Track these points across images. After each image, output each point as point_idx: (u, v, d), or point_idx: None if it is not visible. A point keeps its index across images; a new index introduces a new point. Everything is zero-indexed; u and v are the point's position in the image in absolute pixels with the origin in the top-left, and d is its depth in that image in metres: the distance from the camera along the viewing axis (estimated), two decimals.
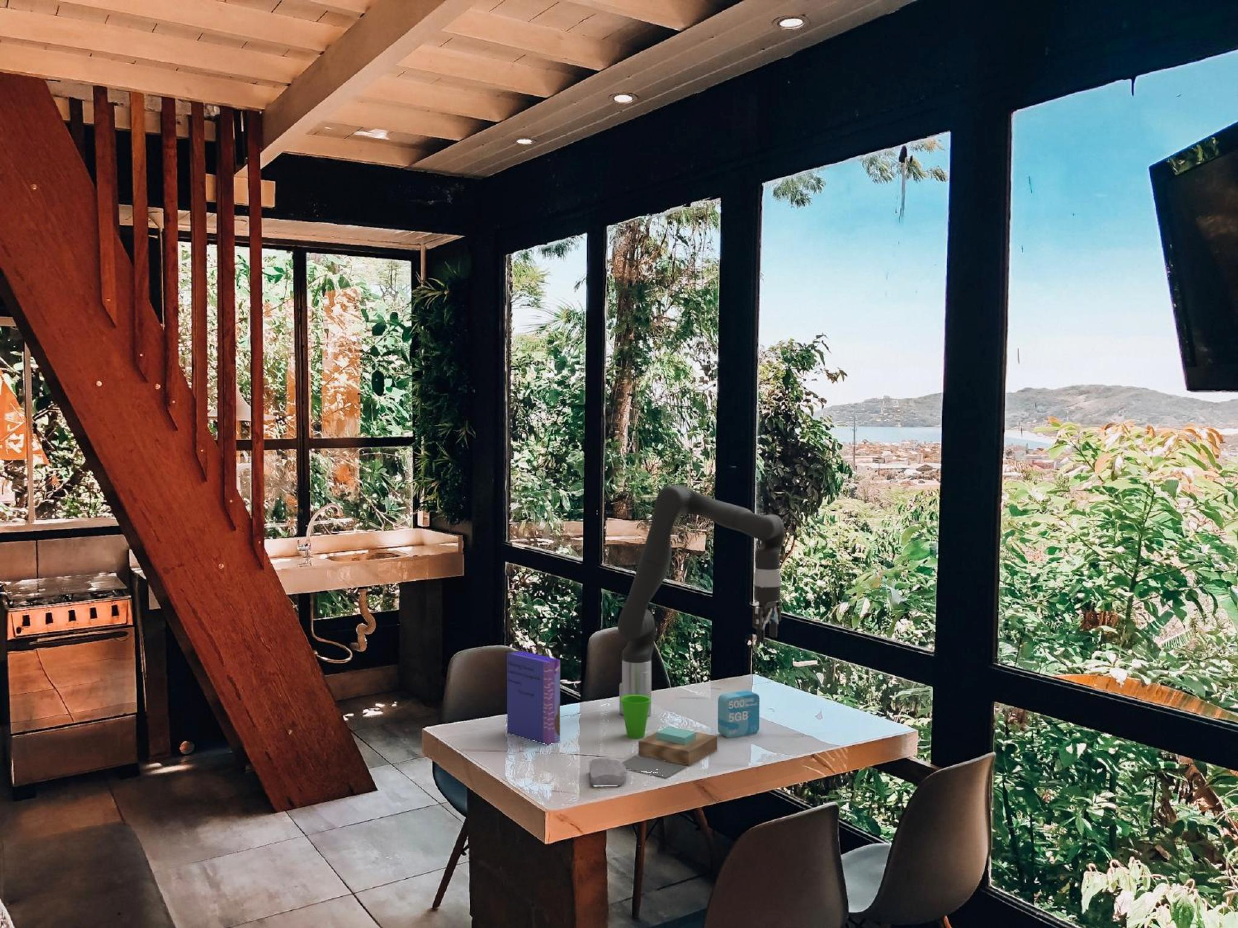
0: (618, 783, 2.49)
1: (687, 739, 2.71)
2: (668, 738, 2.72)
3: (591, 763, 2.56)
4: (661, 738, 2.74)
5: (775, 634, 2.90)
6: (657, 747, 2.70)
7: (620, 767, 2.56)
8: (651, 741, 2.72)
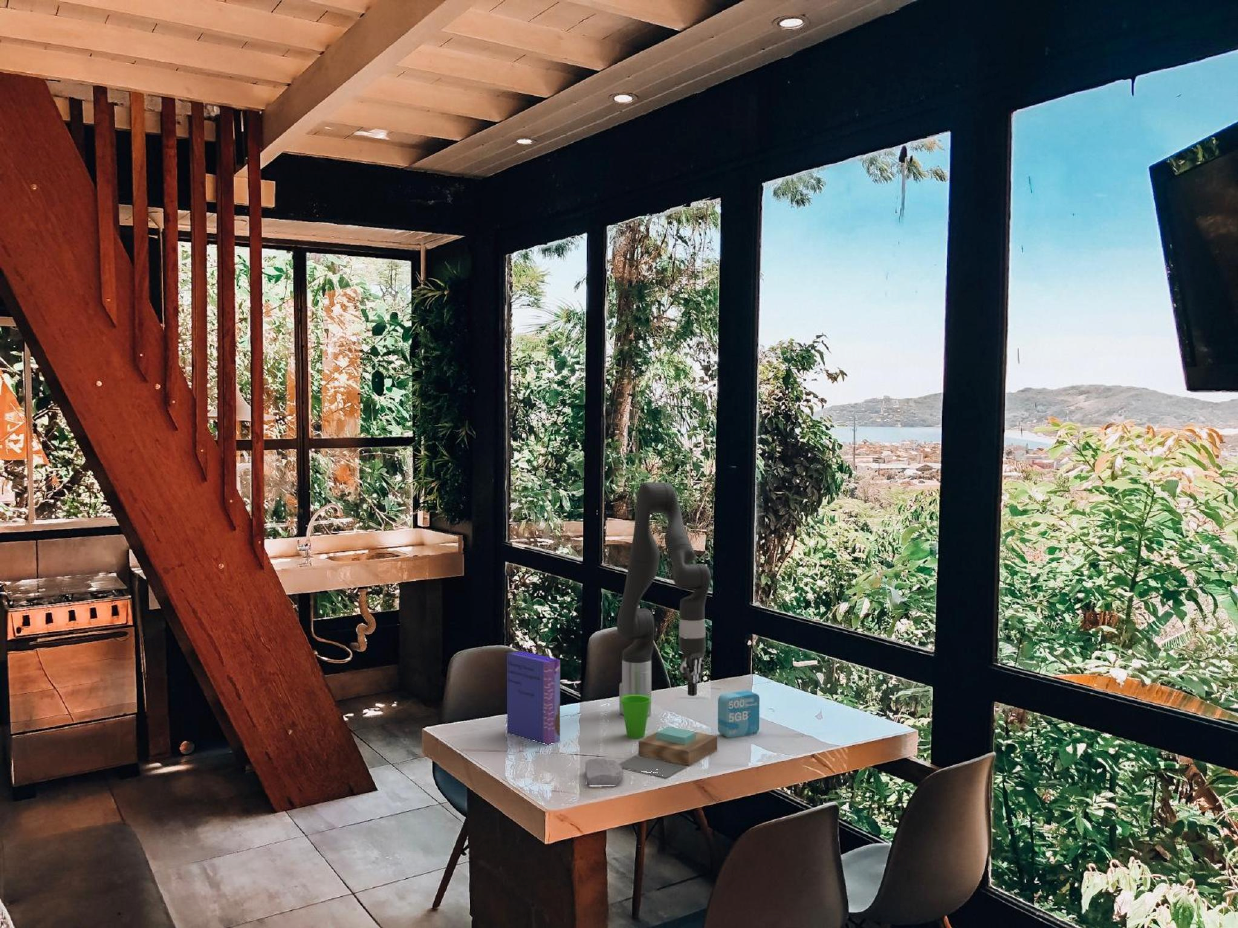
0: (614, 783, 2.49)
1: (687, 739, 2.71)
2: (668, 738, 2.72)
3: (587, 763, 2.56)
4: (661, 738, 2.74)
5: None
6: (657, 747, 2.70)
7: (616, 767, 2.56)
8: (651, 741, 2.72)
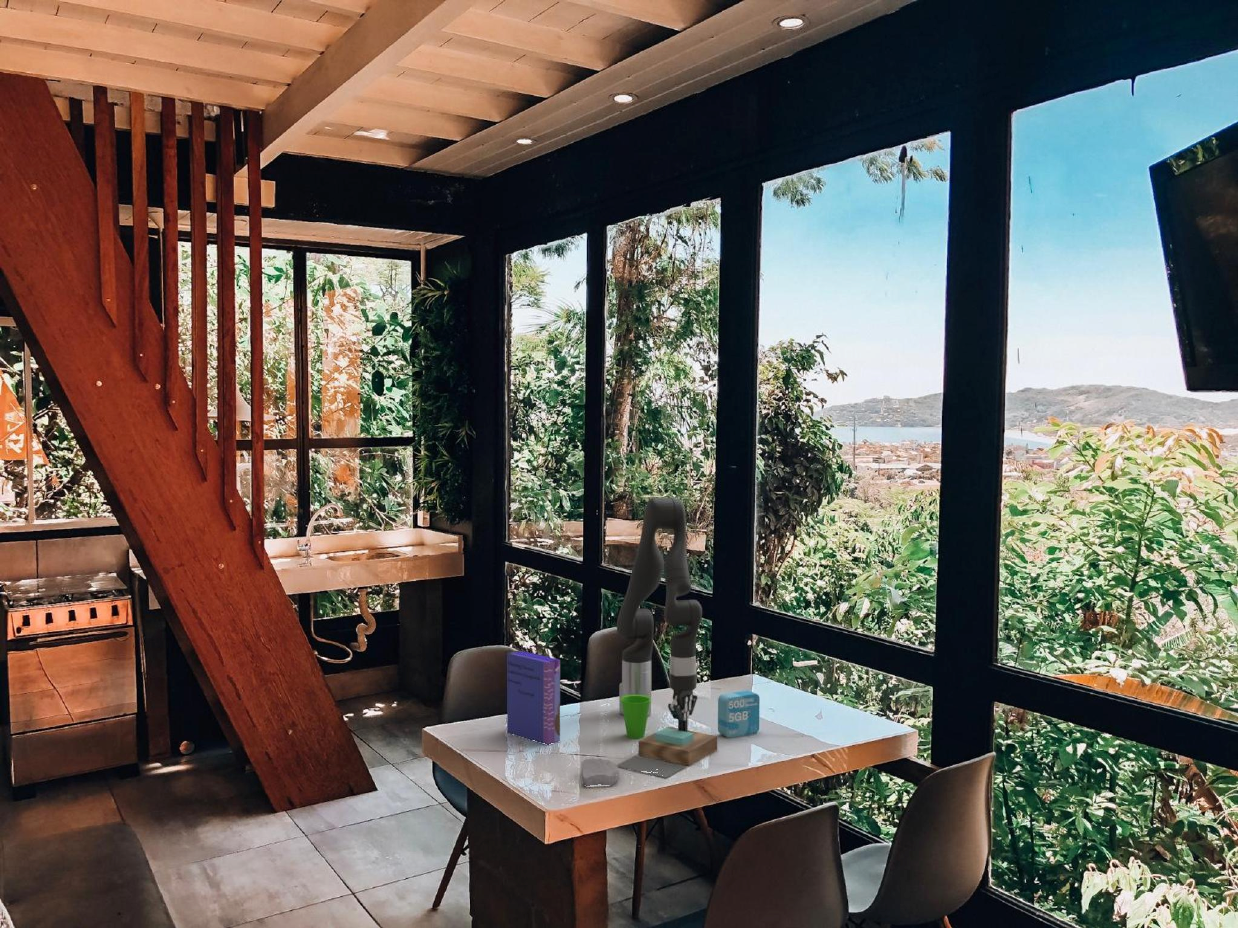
0: (610, 783, 2.49)
1: (685, 740, 2.70)
2: (665, 738, 2.71)
3: (583, 763, 2.56)
4: (659, 739, 2.73)
5: None
6: (657, 747, 2.70)
7: (612, 767, 2.56)
8: (651, 741, 2.72)
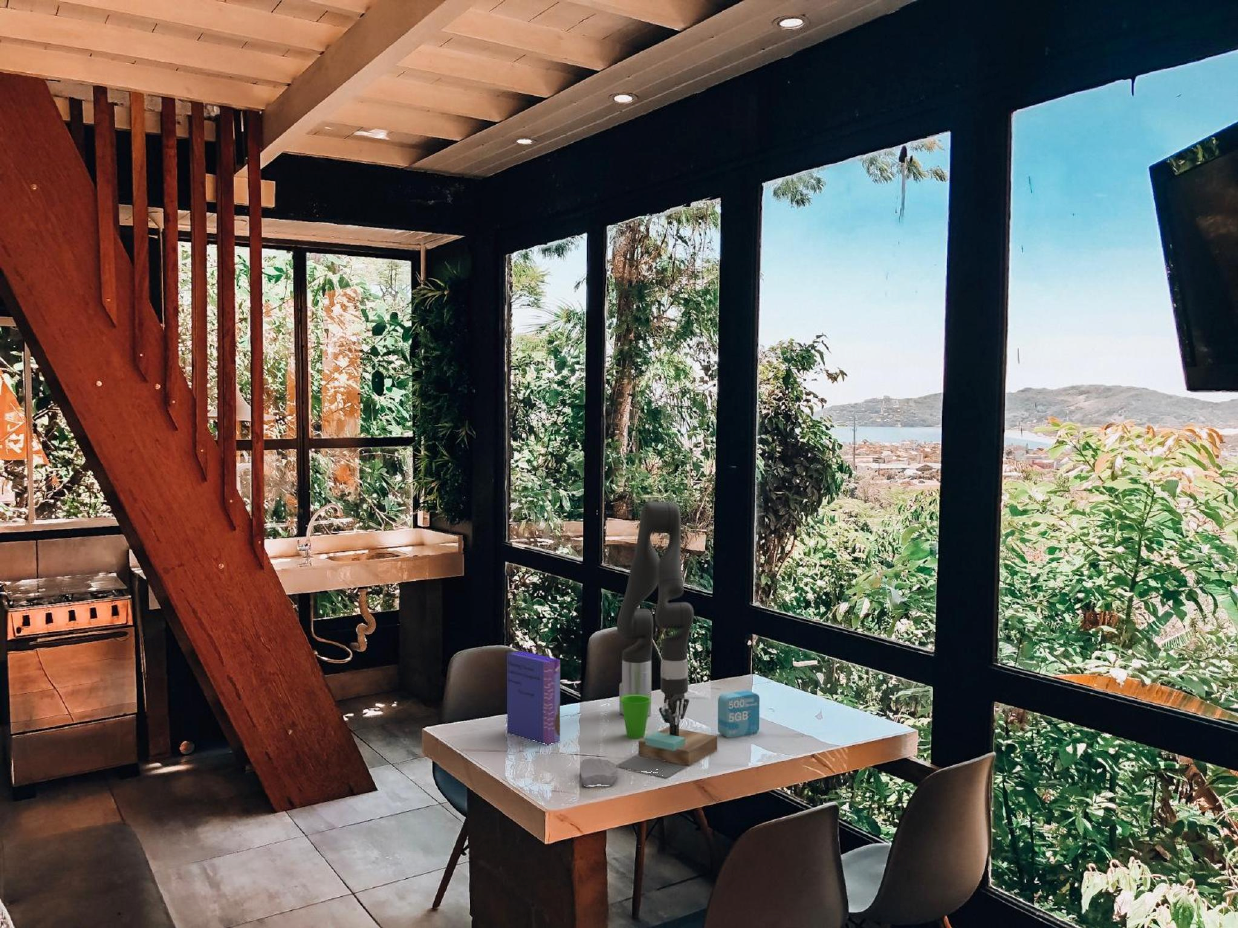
0: (609, 783, 2.49)
1: (676, 745, 2.66)
2: (656, 743, 2.67)
3: (582, 763, 2.56)
4: (650, 744, 2.69)
5: None
6: (657, 747, 2.70)
7: (611, 767, 2.56)
8: None
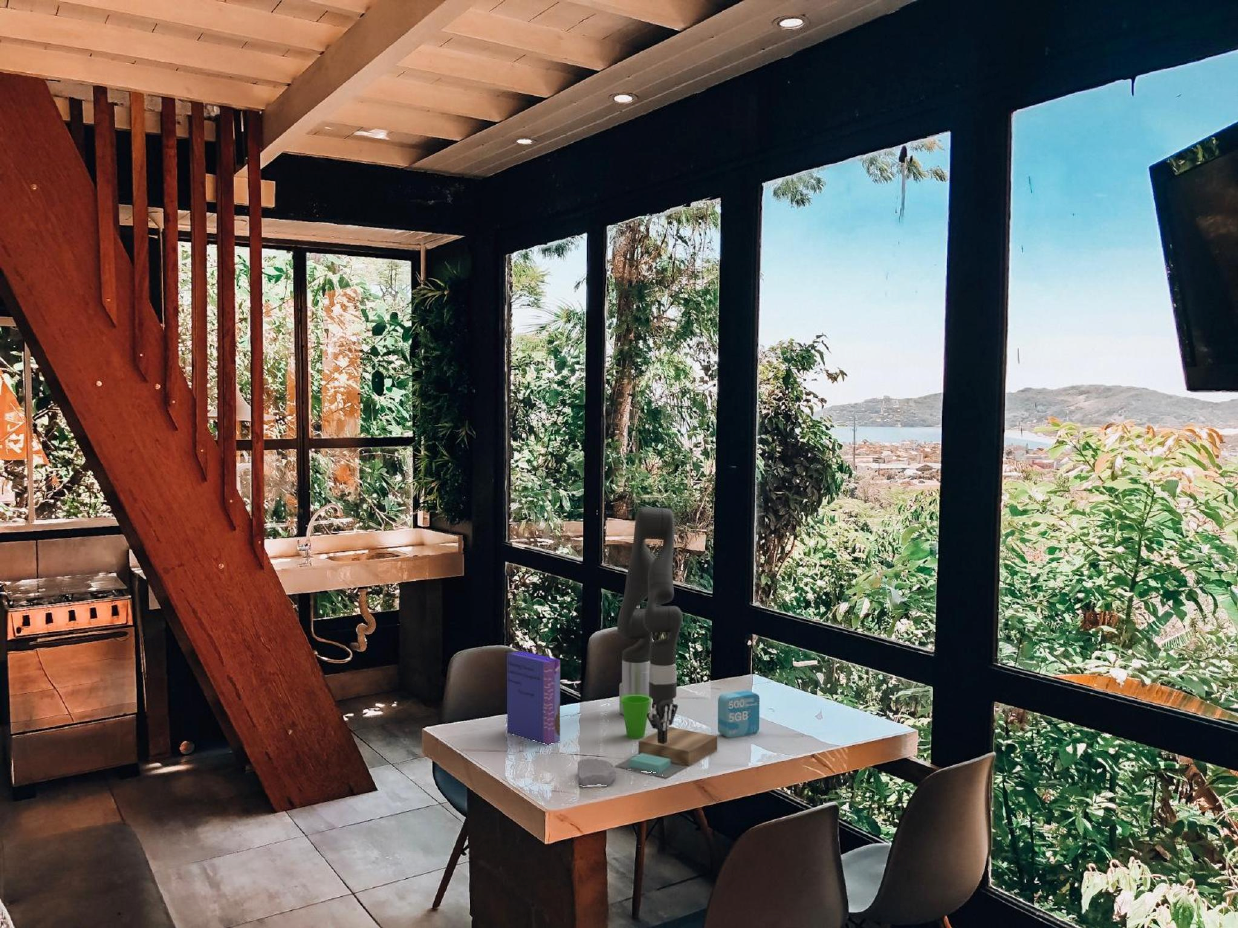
0: (606, 783, 2.49)
1: (667, 764, 2.62)
2: None
3: (579, 763, 2.56)
4: None
5: None
6: (657, 747, 2.70)
7: (608, 767, 2.56)
8: (651, 741, 2.72)
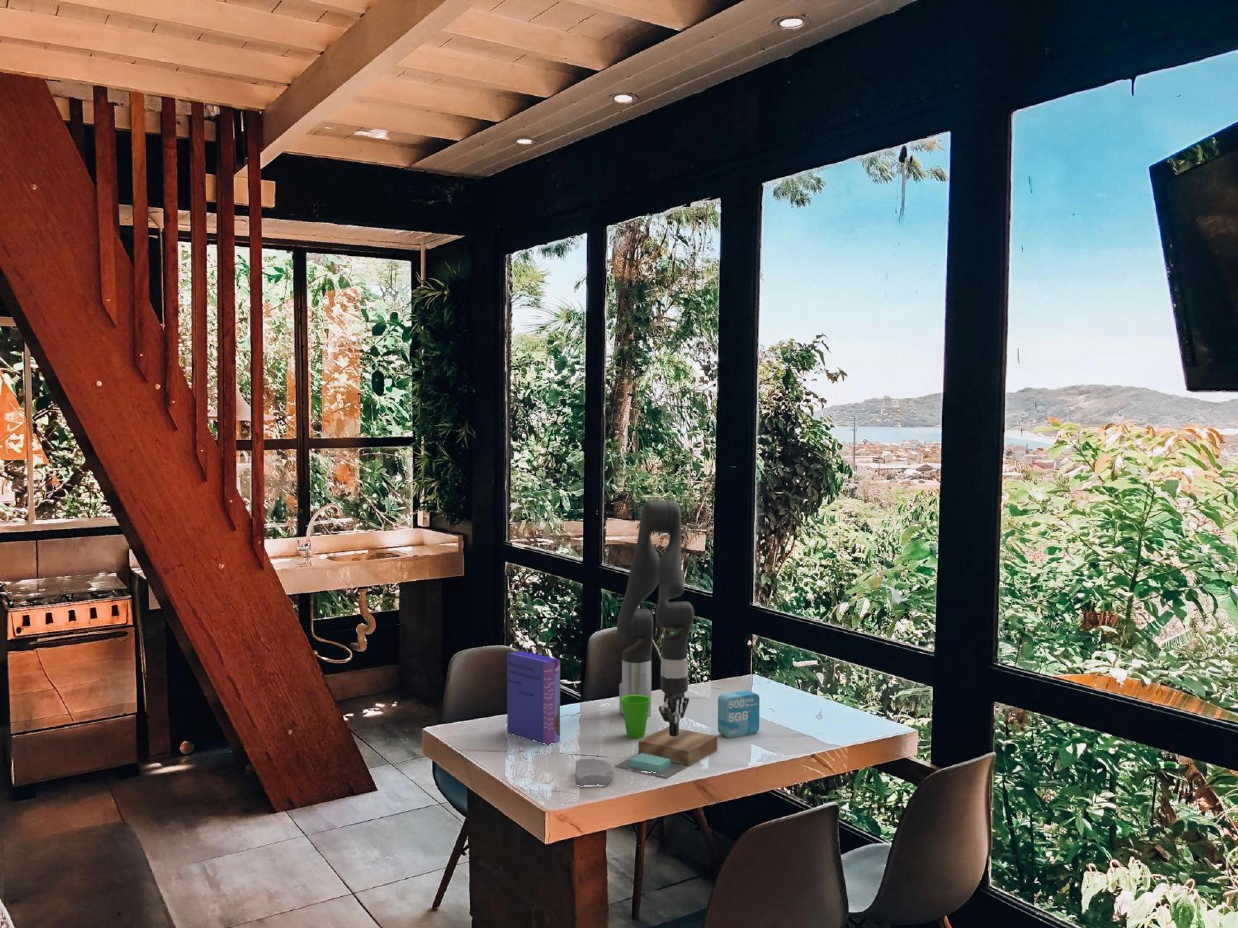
0: (604, 783, 2.49)
1: (667, 764, 2.62)
2: None
3: (577, 763, 2.56)
4: None
5: None
6: (657, 747, 2.70)
7: (606, 767, 2.56)
8: (651, 741, 2.72)
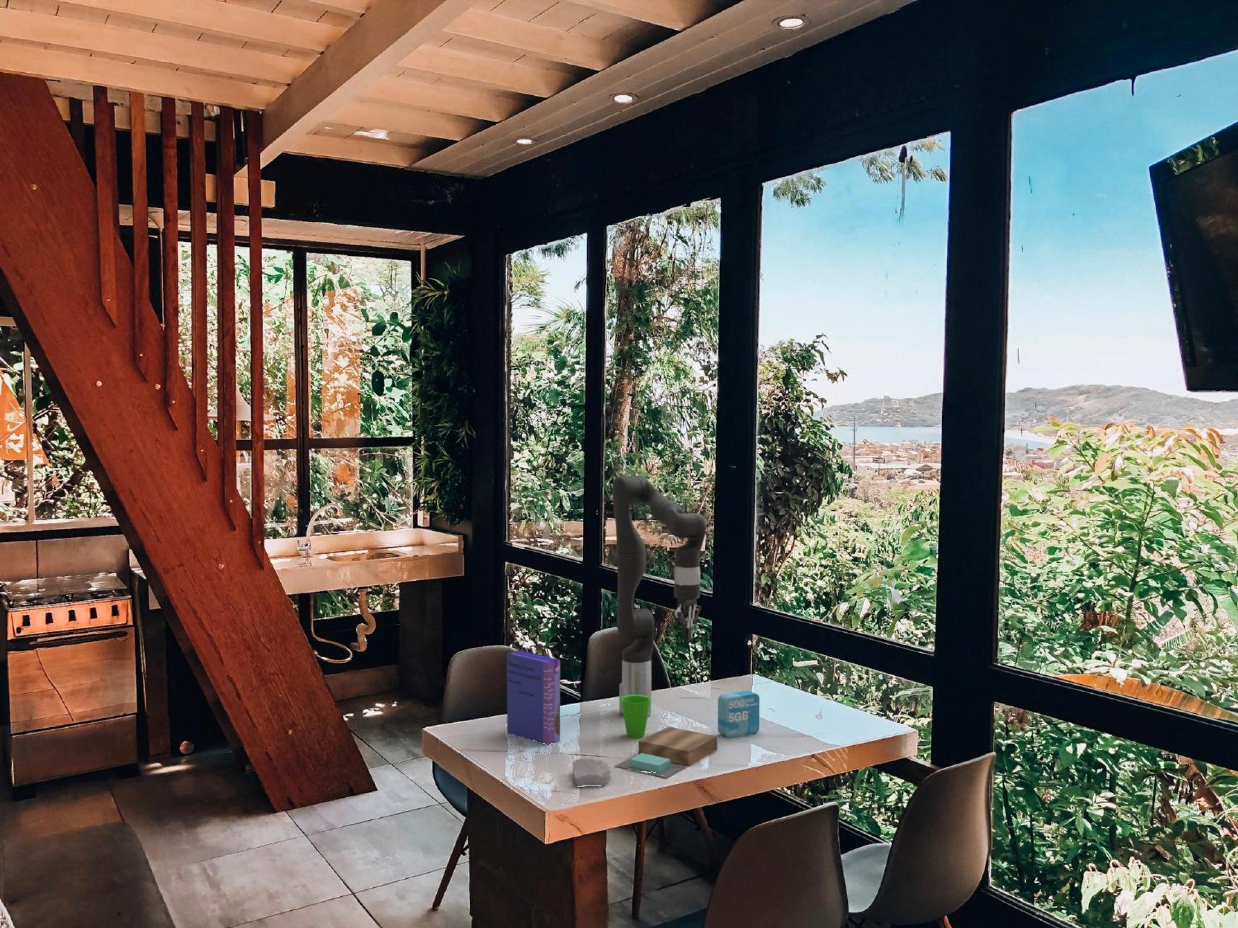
0: (601, 783, 2.49)
1: (667, 764, 2.62)
2: None
3: (575, 763, 2.56)
4: None
5: None
6: (657, 747, 2.70)
7: (604, 767, 2.56)
8: (651, 741, 2.72)
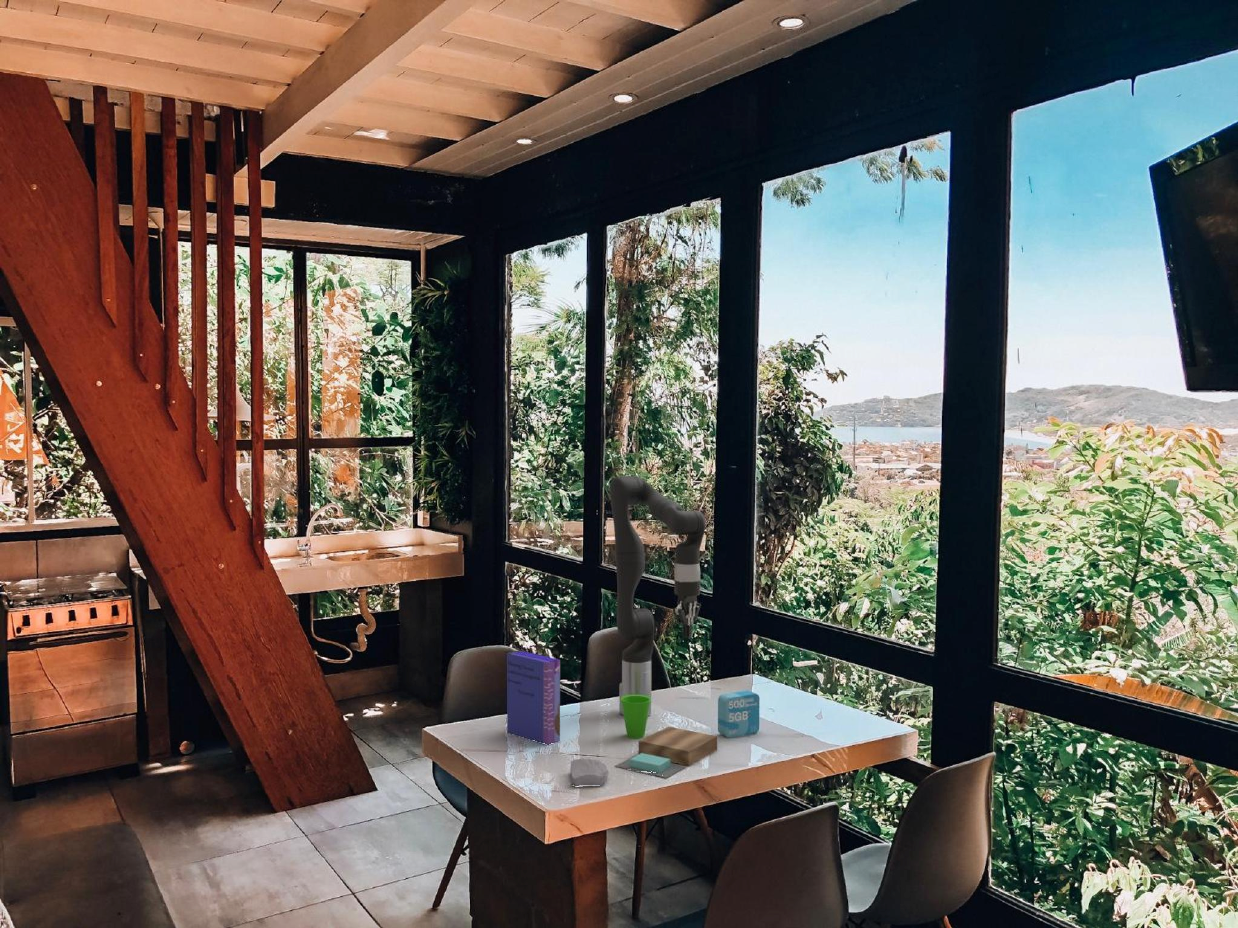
0: (599, 783, 2.49)
1: (667, 764, 2.62)
2: None
3: (572, 763, 2.56)
4: None
5: None
6: (657, 747, 2.70)
7: (601, 767, 2.56)
8: (651, 741, 2.72)
